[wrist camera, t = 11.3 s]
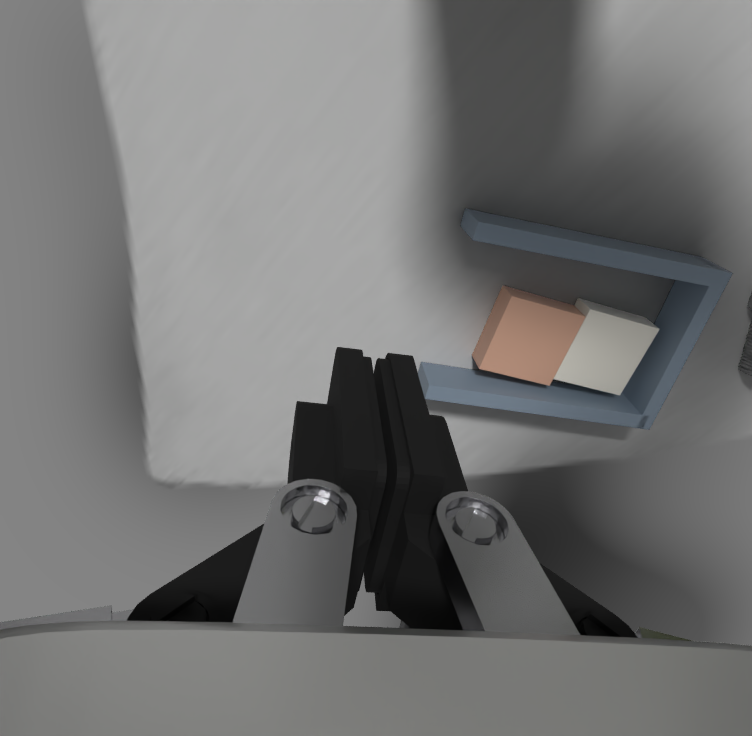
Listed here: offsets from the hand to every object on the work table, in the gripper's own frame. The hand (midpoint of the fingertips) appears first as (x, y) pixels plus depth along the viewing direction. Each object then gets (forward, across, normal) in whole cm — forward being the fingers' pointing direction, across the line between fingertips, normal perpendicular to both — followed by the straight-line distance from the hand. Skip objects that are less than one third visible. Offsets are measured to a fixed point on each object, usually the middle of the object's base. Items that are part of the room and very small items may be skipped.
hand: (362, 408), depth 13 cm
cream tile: (+28, -22, +10) cm, 37 cm away
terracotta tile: (+28, -16, +10) cm, 33 cm away
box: (+27, -18, +8) cm, 34 cm away
